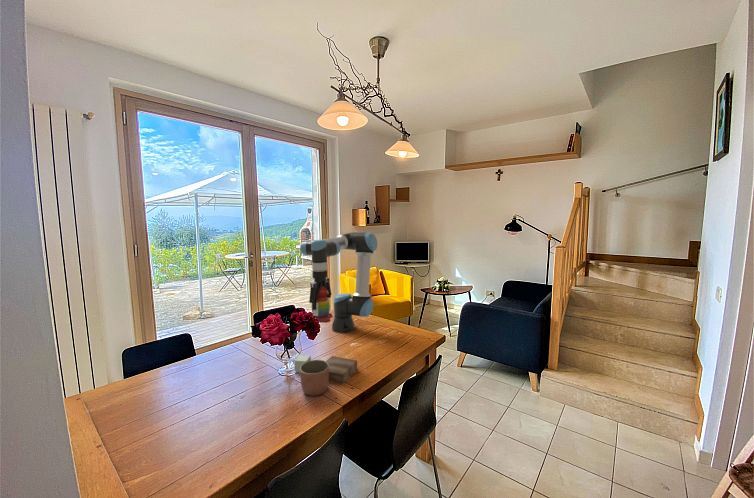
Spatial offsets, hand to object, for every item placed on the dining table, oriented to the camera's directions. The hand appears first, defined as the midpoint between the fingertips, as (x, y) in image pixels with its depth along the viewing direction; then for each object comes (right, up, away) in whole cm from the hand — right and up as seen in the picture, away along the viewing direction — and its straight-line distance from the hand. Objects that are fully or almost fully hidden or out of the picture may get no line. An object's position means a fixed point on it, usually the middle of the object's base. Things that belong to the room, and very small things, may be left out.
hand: (321, 312), depth 158 cm
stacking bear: (0, -4, +1) cm, 4 cm away
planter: (+2, -29, -26) cm, 39 cm away
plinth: (+10, -27, -12) cm, 31 cm away
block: (-8, -27, -8) cm, 29 cm away
